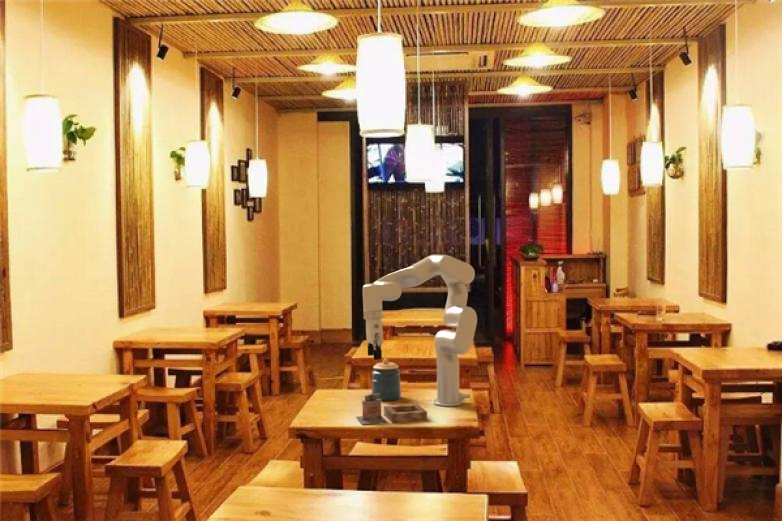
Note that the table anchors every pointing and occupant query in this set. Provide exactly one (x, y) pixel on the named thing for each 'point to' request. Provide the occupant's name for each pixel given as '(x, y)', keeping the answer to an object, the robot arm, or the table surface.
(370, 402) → the lighter
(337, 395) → the table surface
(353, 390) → the table surface
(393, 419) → the frame
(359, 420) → the charcoal mat
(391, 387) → the canister
